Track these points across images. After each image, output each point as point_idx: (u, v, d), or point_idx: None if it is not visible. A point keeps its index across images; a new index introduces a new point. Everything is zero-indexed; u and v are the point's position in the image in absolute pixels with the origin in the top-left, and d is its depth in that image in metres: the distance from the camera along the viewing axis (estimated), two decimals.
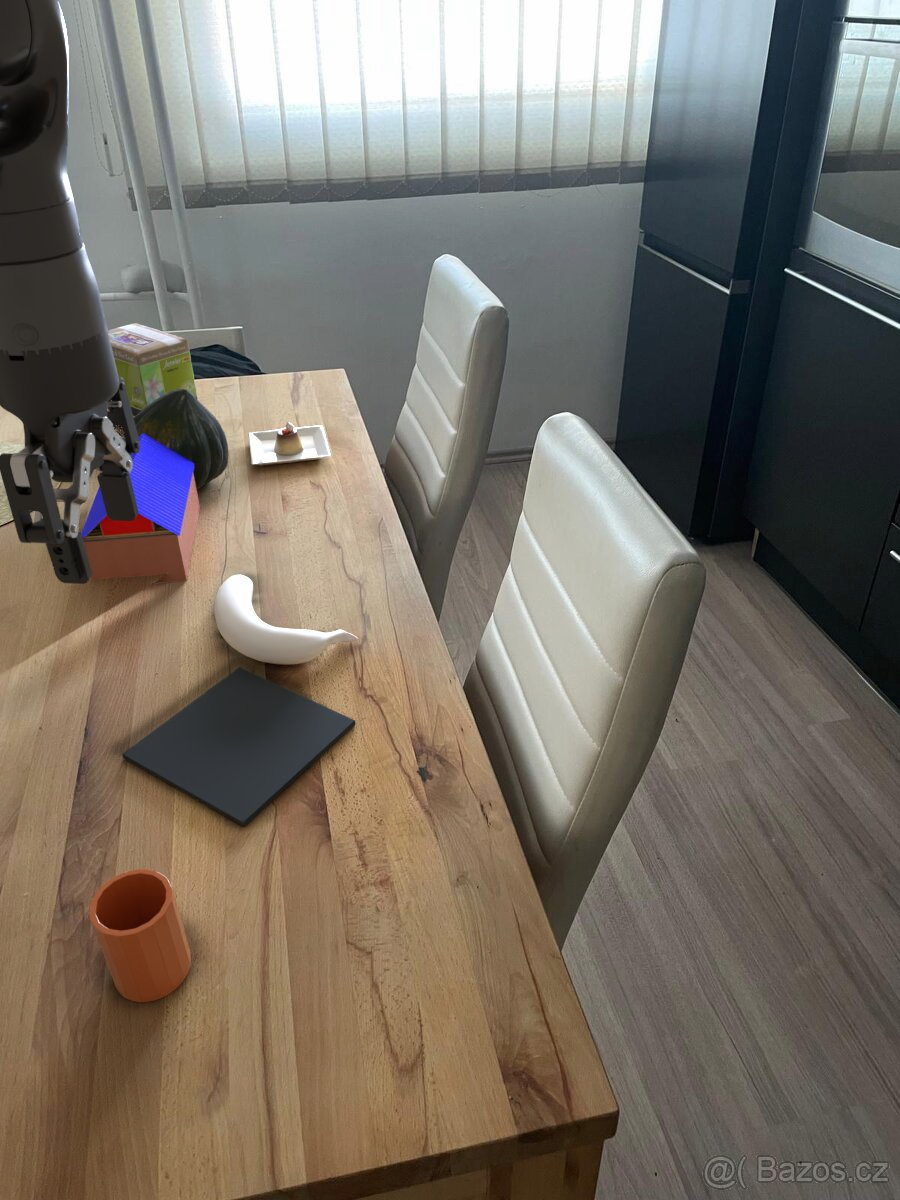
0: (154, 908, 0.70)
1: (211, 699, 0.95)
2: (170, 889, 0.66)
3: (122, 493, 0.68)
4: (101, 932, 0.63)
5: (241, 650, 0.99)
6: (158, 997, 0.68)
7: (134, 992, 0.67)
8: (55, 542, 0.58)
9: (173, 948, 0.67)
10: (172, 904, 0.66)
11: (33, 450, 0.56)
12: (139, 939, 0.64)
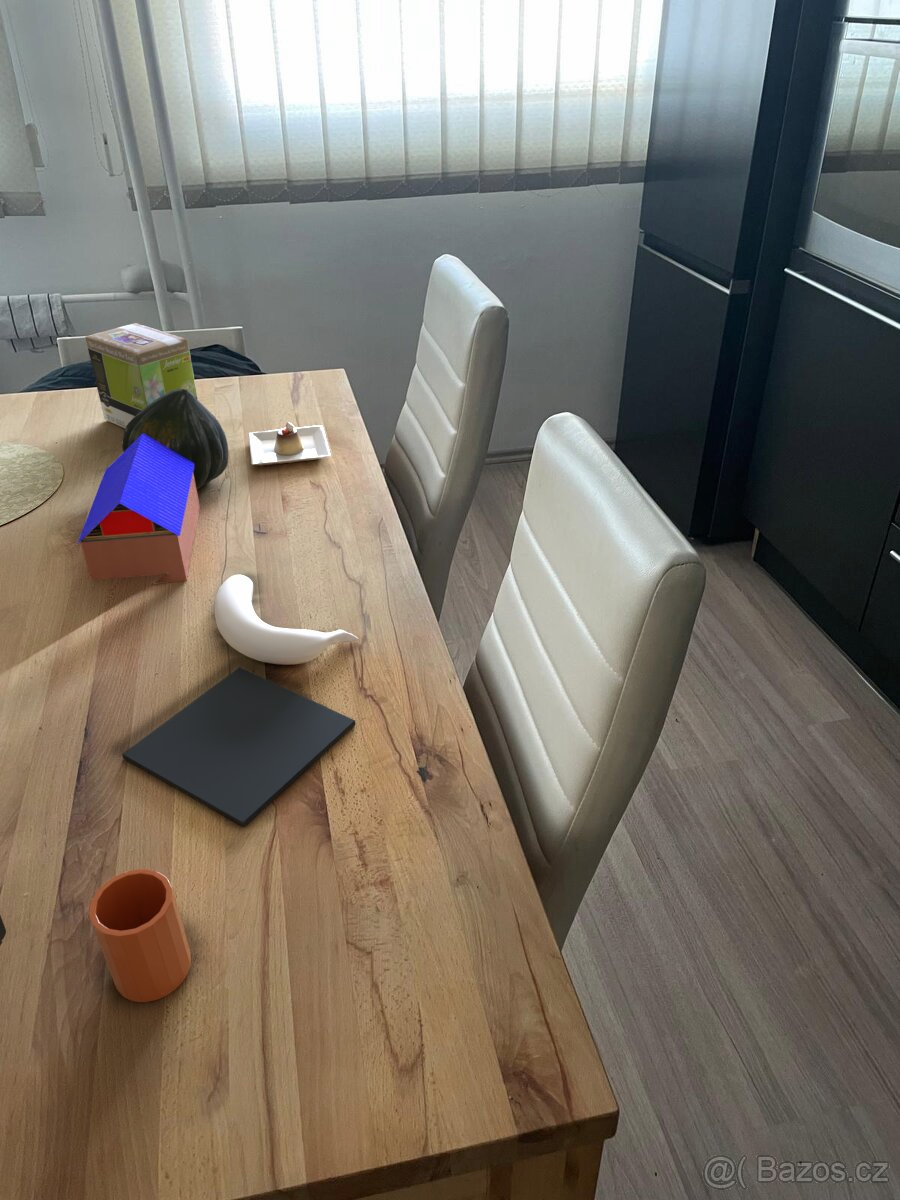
0: (154, 908, 0.70)
1: (211, 699, 0.95)
2: (170, 889, 0.66)
3: None
4: (101, 932, 0.63)
5: (241, 650, 0.99)
6: (158, 997, 0.68)
7: (134, 992, 0.67)
8: None
9: (173, 948, 0.67)
10: (172, 904, 0.66)
11: None
12: (139, 939, 0.64)
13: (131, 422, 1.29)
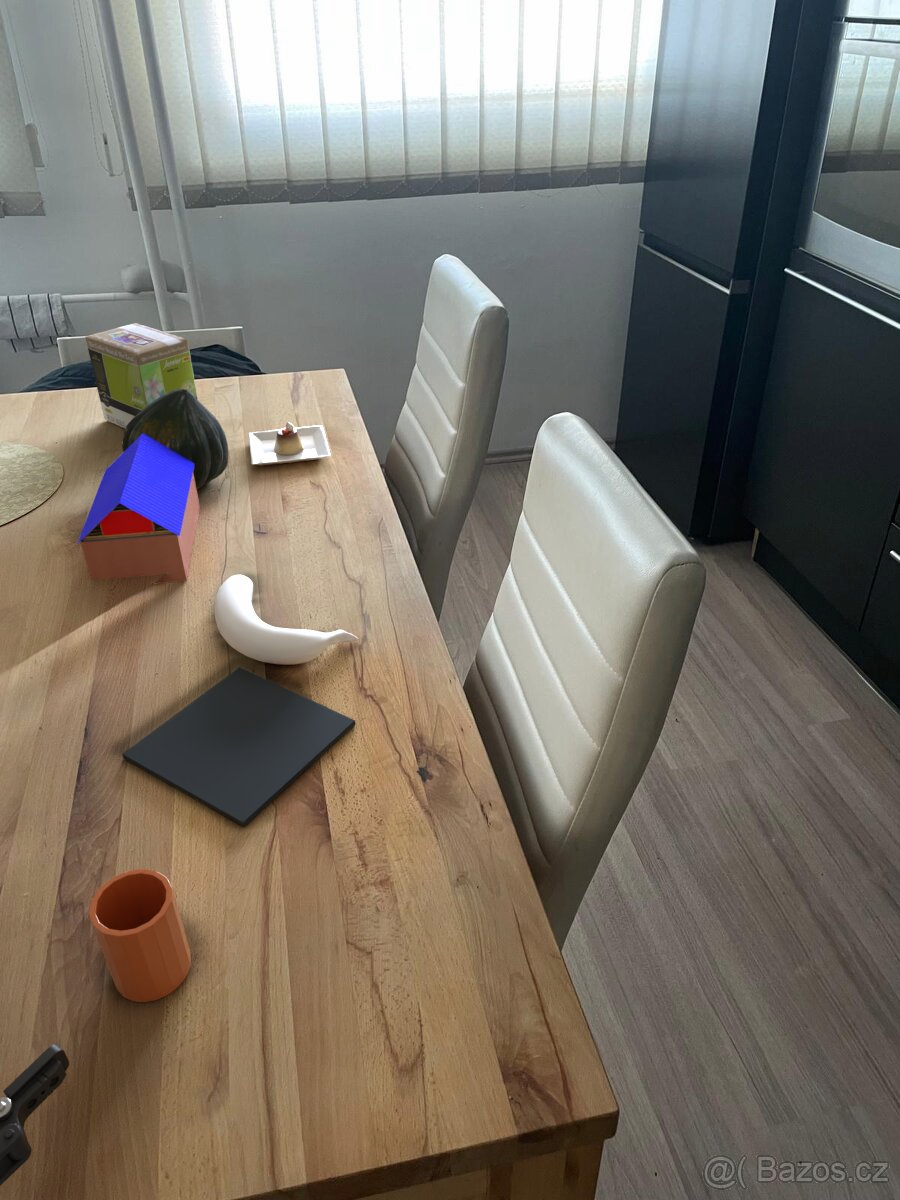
0: (154, 908, 0.70)
1: (211, 699, 0.95)
2: (170, 889, 0.66)
3: None
4: (101, 932, 0.63)
5: (241, 650, 0.99)
6: (158, 997, 0.68)
7: (134, 992, 0.67)
8: None
9: (173, 948, 0.67)
10: (172, 904, 0.66)
11: None
12: (139, 939, 0.64)
13: (131, 422, 1.29)
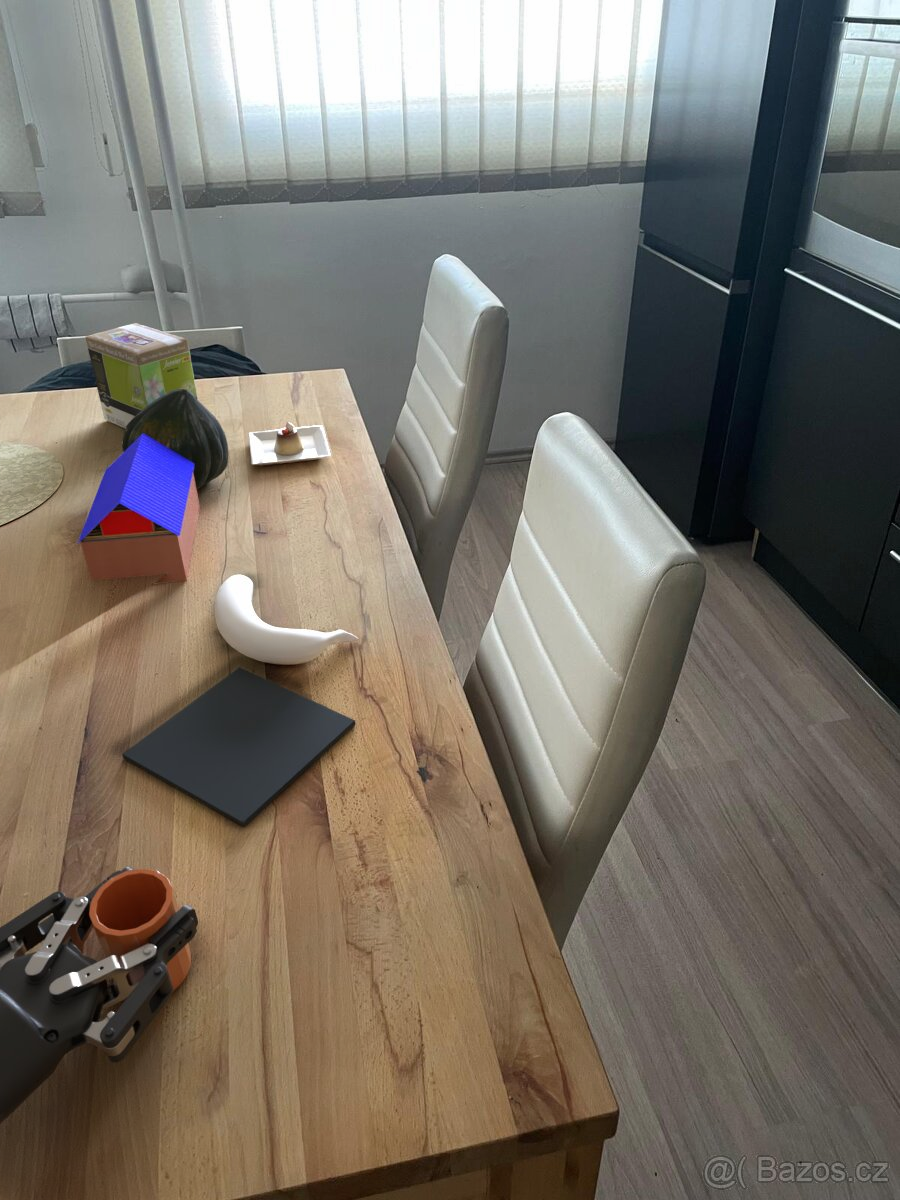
0: (154, 908, 0.70)
1: (211, 699, 0.95)
2: (170, 889, 0.66)
3: None
4: (101, 932, 0.63)
5: (241, 650, 0.99)
6: None
7: None
8: None
9: None
10: (172, 904, 0.66)
11: None
12: (139, 939, 0.64)
13: (131, 422, 1.29)
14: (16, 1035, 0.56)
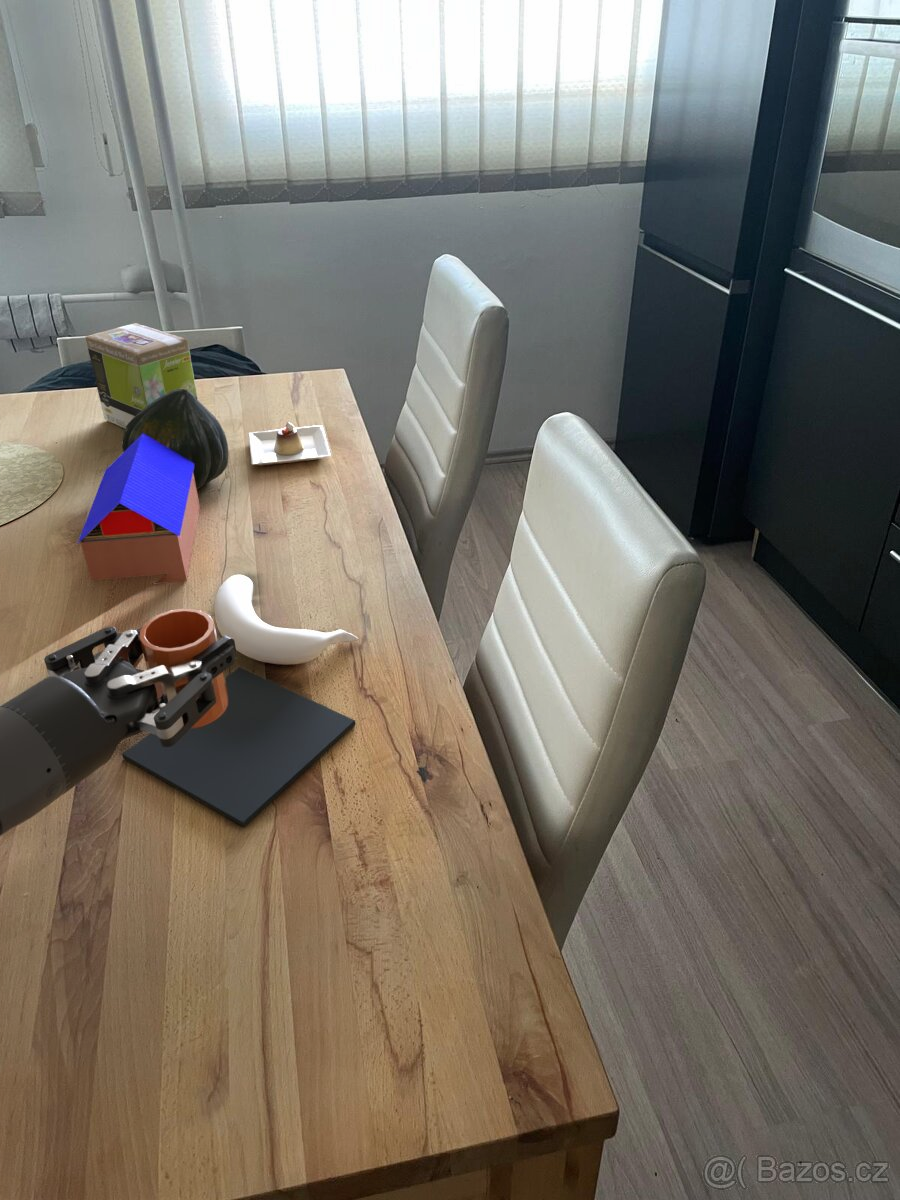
0: None
1: None
2: (212, 621, 0.73)
3: None
4: (151, 649, 0.70)
5: (241, 650, 0.99)
6: (200, 724, 0.75)
7: None
8: None
9: None
10: (214, 633, 0.73)
11: None
12: (185, 657, 0.71)
13: (131, 422, 1.29)
14: (81, 709, 0.63)
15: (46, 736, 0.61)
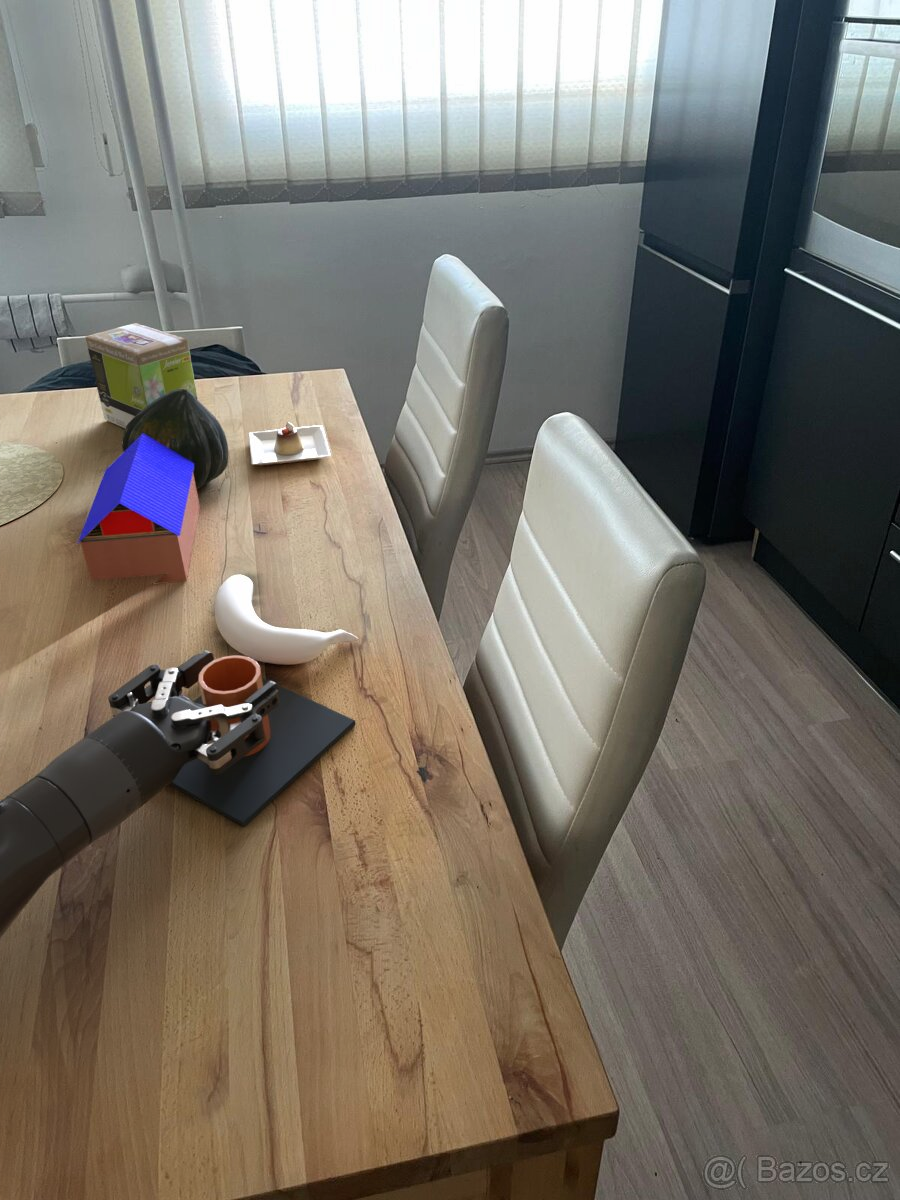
0: None
1: None
2: (258, 667, 0.86)
3: None
4: (209, 692, 0.84)
5: (241, 650, 0.99)
6: (248, 754, 0.88)
7: None
8: None
9: None
10: (260, 677, 0.86)
11: None
12: (237, 698, 0.84)
13: (131, 422, 1.29)
14: (152, 740, 0.76)
15: (126, 762, 0.74)
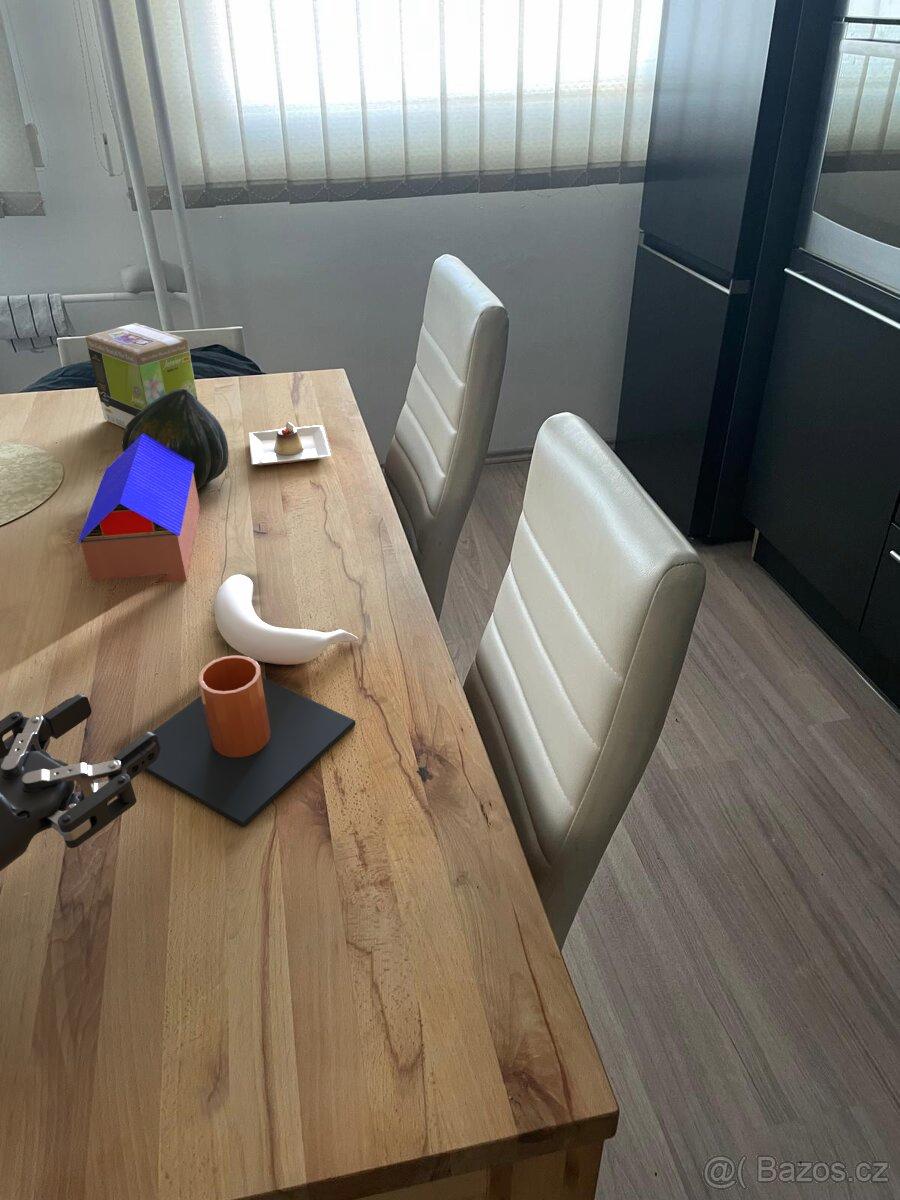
0: None
1: None
2: (258, 667, 0.86)
3: None
4: (209, 692, 0.84)
5: (241, 650, 0.99)
6: (248, 754, 0.88)
7: (230, 748, 0.87)
8: None
9: (261, 713, 0.87)
10: (260, 677, 0.86)
11: None
12: (237, 698, 0.84)
13: (131, 422, 1.29)
14: None
15: None
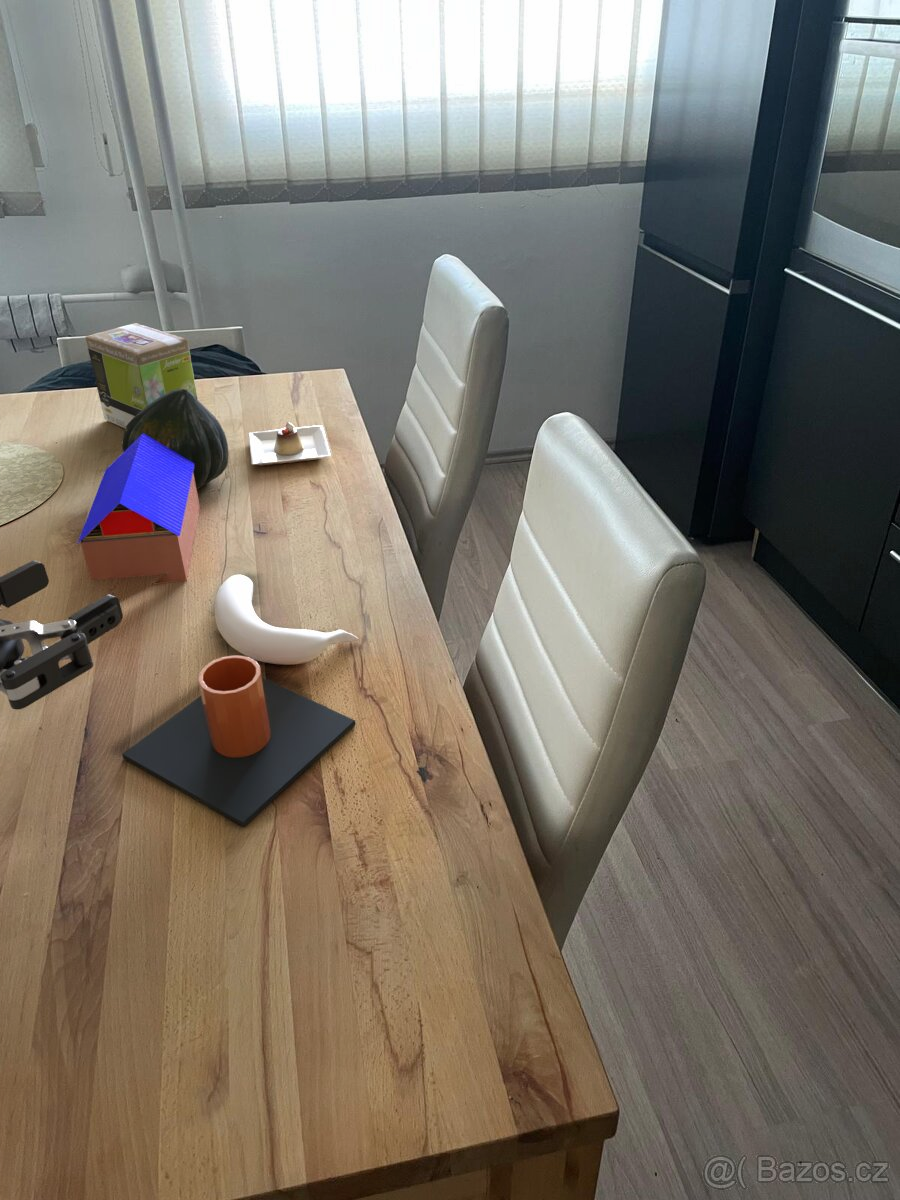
0: None
1: None
2: (258, 667, 0.86)
3: None
4: (209, 692, 0.84)
5: (241, 650, 0.99)
6: (248, 754, 0.88)
7: (230, 748, 0.87)
8: None
9: (261, 713, 0.87)
10: (260, 677, 0.86)
11: None
12: (237, 698, 0.84)
13: (131, 422, 1.29)
14: None
15: None
